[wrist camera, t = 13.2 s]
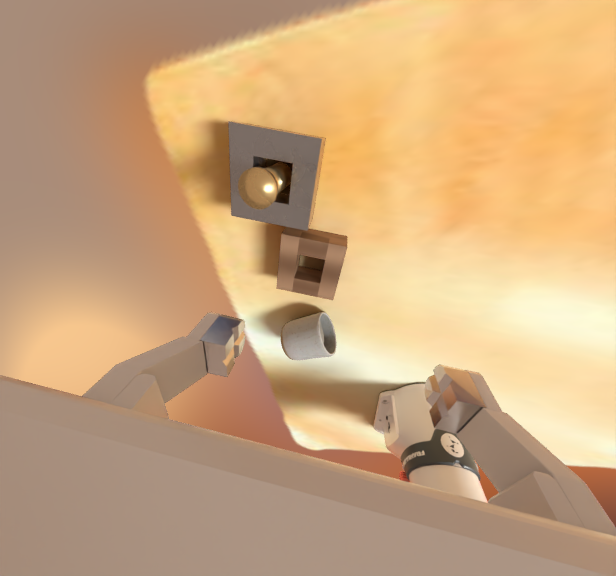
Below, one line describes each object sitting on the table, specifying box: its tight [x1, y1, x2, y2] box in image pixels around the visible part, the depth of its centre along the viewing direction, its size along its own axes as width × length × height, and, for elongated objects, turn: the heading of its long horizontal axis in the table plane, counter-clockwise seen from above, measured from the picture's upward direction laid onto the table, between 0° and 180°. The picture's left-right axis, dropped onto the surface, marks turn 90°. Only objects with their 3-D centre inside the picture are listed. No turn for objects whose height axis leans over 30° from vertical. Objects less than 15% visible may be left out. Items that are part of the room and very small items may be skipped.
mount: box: [277, 227, 347, 300], centre depth 36 cm, size 9×9×4 cm
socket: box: [229, 122, 326, 231], centre depth 29 cm, size 10×10×5 cm
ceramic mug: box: [281, 312, 336, 360], centre depth 42 cm, size 11×8×8 cm
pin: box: [238, 163, 292, 209], centre depth 27 cm, size 4×4×10 cm
